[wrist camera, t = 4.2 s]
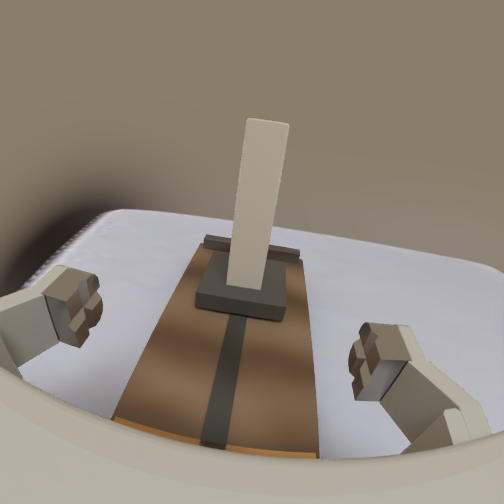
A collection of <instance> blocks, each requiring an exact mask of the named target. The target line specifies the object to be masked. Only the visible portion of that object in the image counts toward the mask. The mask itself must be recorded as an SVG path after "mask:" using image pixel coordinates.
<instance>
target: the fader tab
mask: <svg viewBox="0 0 504 504" xmlns="http://www.w3.org/2000/svg"><path fill="white" fill-rule="evenodd" d="M289 126H290V125H289V124H287V123H281V122H275V121H268V120H262V119H254V118H249V119H247V123H246V130H245V137H244V144H243V151H242V159H241V167H240V174H239V182H238V189H237V197H236V205H235V214H234V221H233V229H232V238H231V246H230V254H228V253H222V252H216V251H213V254H212V256H211V258H210V260H209V263H208V265H207V267H206V269H205V272H204V274H203V276H202V278H201V281H200V283H199V285H198V288H197V290H196V294H195V306H196V307H202V308H207V309H212V310H218V311H223V312H229V313H235V314H241V315H247V316H253V317H259V318H266V319H272V320H279V321H283V318H284V315H285V311H286V263H283V262H277V261H271V260H266V258H267V253H268V247H269V242H270V236H271V230H272V225H273V219H274V214H275V207H276V202H277V197H278V191H279V185H280V179H281V173H282V168H283V162H284V156H285V150H286V143H287V138H288V132H289Z"/></svg>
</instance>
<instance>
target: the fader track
mask: <svg viewBox="0 0 504 504" xmlns="http://www.w3.org/2000/svg"><path fill="white" fill-rule="evenodd" d="M230 246H231V238H225V237H219V236H212V235H206V236H205V238H204V243H201V244H200V245H199V247H198V249H197V251H196V252H195V254H194V256H193V258H192V260H191V261H190V263H189V265H188V267H187V269H186V270H185V272H184V274H183V276H182V278H181V280H180V281H179V283H178V285H177V287H176V289H175V291H174V293H173V295H172V296H171V298H170V300H169V302H168V304H167V306H166V308H165V310H164V312H163V313H162V315H161V317H160V319H159V321H158V323H157V325H156V327H155V329H154V331H153V333H152V335H151V337H150V339H149V341H148V343H147V345H146V347H145V349H144V351H143V353H142V355H141V357H140V359H139V361H138V363H137V365H136V367H135V369H134V371H133V373H132V375H131V377H130V379H129V382H128V384H127V386H126V388H125V390H124V392H123V394H122V396H121V399H120V401H119V403H118V405H117V407H116V409H115V412H114V414H113V416H112V418H111V421H114V422H117V423H120V424H123V425H126V426H129V427H132V428H135V429H138V430H141V431H144V432H148V433H151V434H155V435H158V436H162V437H165V438H169V439H173V440H177V441H181V442H186V443H190V444H195V445H199V446H204V447H209V448H215V449H220V450H226V451H233V452H239V453H247V454H255V455H264V456H274V457H288V458H309V459H319V437H318V418H317V402H316V388H315V375H314V363H313V351H312V341H311V330H310V321H309V311H308V302H307V293H306V285H305V277H304V269H303V261H302V260H301V259H299V257H300V250H298V249H292V248H286V247H280V246H274V245H269V247H268V253H267V258H266V260H271V261H277V262H283V263H286V311H285V315H284V318H283V321H279V320H272V319H266V318H259V317H253V316H247V315H241V314H235V313H229V312H223V311H218V310H212V309H207V308H202V307H196V306H195V294H196V290H197V288H198V285H199V283H200V281H201V278H202V276H203V274H204V272H205V269H206V267H207V265H208V263H209V260H210V258H211V256H212V254H213V251H216V252H222V253H228V254H230Z"/></svg>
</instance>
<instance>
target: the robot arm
mask: <svg viewBox="0 0 504 504" xmlns="http://www.w3.org/2000/svg"><path fill="white" fill-rule="evenodd" d="M99 287H100V285H99V280H98V277H97V276H96V275H95V274H91V273H88V272H84V271H81V270H77V269H74V268H69V267H66V266H62V265H56V266H55V267H54V268H53V269H52V270H50V271H49V272H48V273H47V274H46V275H45V276H44V277H43V278H42V279H40V280H39V281H38V282H37V283H36V284H35V285H34V286H33V287H32V288H31V289H30V290H29V289H24V290H21V291H18V292H15V293H12V294H10V295H7V296H4V297H1V298H0V504H504V431H501V432H498V433H495V434H492V432H491V429H490V427H489V424H488V422H487V419H486V417H485V414H484V412H483V410H482V407H481V405H480V403H479V402H478V401H477V400H475V399H474V398H473V397H472V396H471V395H470V394H468V393H467V392H466V391H465V390H464V389H463V388H461V387H460V386H459V385H458V384H457V383H455V382H454V381H453V380H452V379H451V378H450V377H448V376H447V375H446V374H445V373H444V372H442V371H441V370H440V369H439V368H438V367H436V366H435V365H434V364H433V363H432V362H427V361H426V359H425V357H424V354H423V352H422V350H421V348H420V346H419V343H418V341H417V339H416V337H415V335H414V333H413V331H412V329H411V327H409V326H408V325H395V324H394V325H389V324H378V323H369V322H365V323H364V324H363V325H362V326H361V329H360V331H359V335H360V339H359V340H357V341H356V342H354V343H353V346H352V348H351V350H350V354H349V359H348V366H349V372H350V373H351V374H352V375H353V376H354V377H355V379H354V380H353V382H352V388H353V393H354V398H355V401H380V404H381V405H382V407H383V408H384V409H385V410H386V412H387V413H388V414H389V415H390V417H391V418H392V419H393V421H394V422H395V423H396V424H397V426H398V427H399V428H400V430H401V431H402V432H403V433H404V435H405V436H406V437H407V438H408V440H409V441H410V442H411V444H410V445H409V446H408V447H407V448H406V449H405V450H403V451H402V452H401V454H398V455H390V456H379V457H366V458H345V459H309V458H288V457H274V456H264V455H255V454H247V453H239V452H233V451H226V450H220V449H215V448H209V447H204V446H199V445H195V444H190V443H186V442H181V441H177V440H173V439H169V438H165V437H162V436H158V435H155V434H151V433H148V432H144V431H141V430H138V429H135V428H132V427H129V426H126V425H123V424H120V423H117V422H114V421H111V420H109V419H106V418H103V417H101V416H98V415H96V414H93V413H91V412H88V411H86V410H83V409H81V408H79V407H76V406H74V405H72V404H70V403H67V402H65V401H63V400H61V399H59V398H57V397H55V396H53V395H51V394H49V393H47V392H45V391H43V390H41V389H39V388H37V387H35V386H33V385H31V384H30V383H28V382H26V381H24V380H23V377H22V375H21V373H20V372H19V370H18V367H19V366H21V365H23V364H24V363H26V362H28V361H29V360H31V359H32V358H34V357H36V356H37V355H39V354H41V353H42V352H44V351H46V350H47V349H49V348H51V347H52V346H54V345H56V344H57V343H59V341H60V342H63V343H66V344H69V345H71V346H74V347H77V348H81V346H82V345H83V343H84V342H85V340H86V339H87V338H88V336H89V335H90V334H89V329H90V328H92V327H94V326H96V325H97V323H98V322H99V320H100V318H101V315H102V312H103V302H102V298H101V296H100V295H99V294H98V292H97V290H98V288H99Z"/></svg>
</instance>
